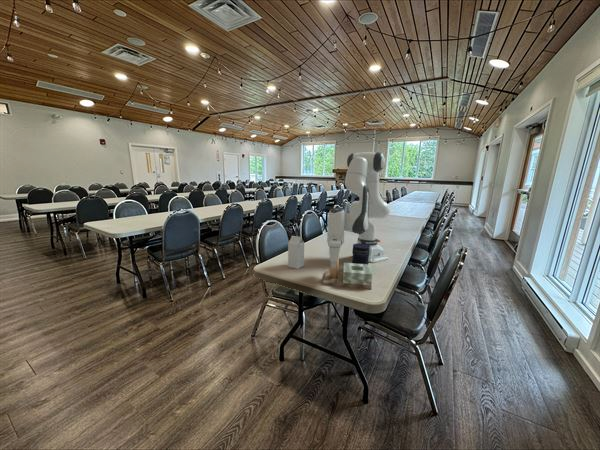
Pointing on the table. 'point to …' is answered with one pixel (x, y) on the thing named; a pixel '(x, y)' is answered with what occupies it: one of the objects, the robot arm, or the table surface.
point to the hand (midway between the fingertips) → (334, 264)
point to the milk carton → (296, 252)
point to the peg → (334, 270)
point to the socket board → (340, 281)
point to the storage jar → (360, 253)
